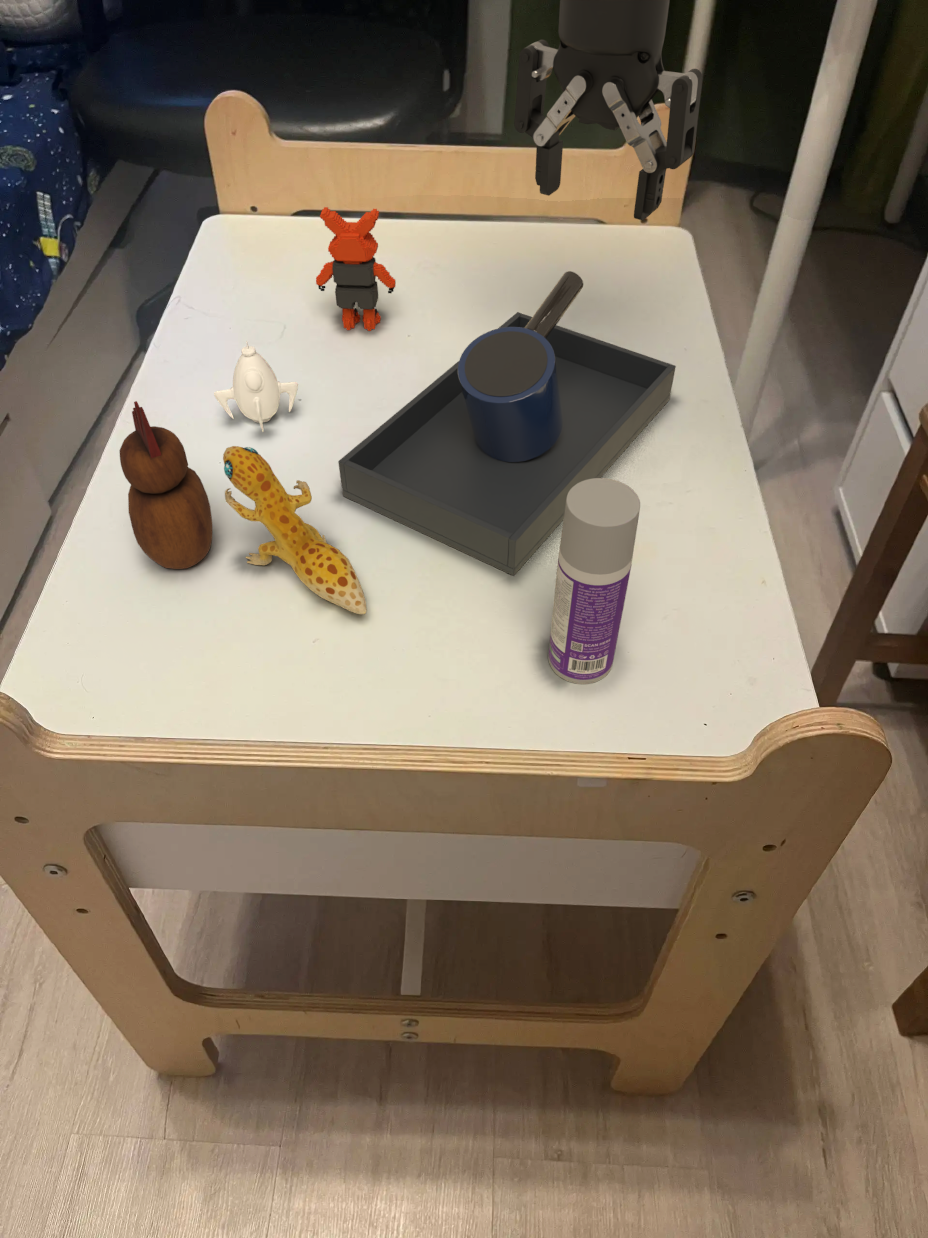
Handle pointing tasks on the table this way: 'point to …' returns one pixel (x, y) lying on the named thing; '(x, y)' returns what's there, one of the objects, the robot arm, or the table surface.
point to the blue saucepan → (517, 382)
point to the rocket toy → (255, 388)
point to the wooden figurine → (165, 496)
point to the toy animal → (354, 268)
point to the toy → (290, 530)
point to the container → (592, 578)
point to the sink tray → (497, 490)
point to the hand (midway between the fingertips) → (595, 203)
